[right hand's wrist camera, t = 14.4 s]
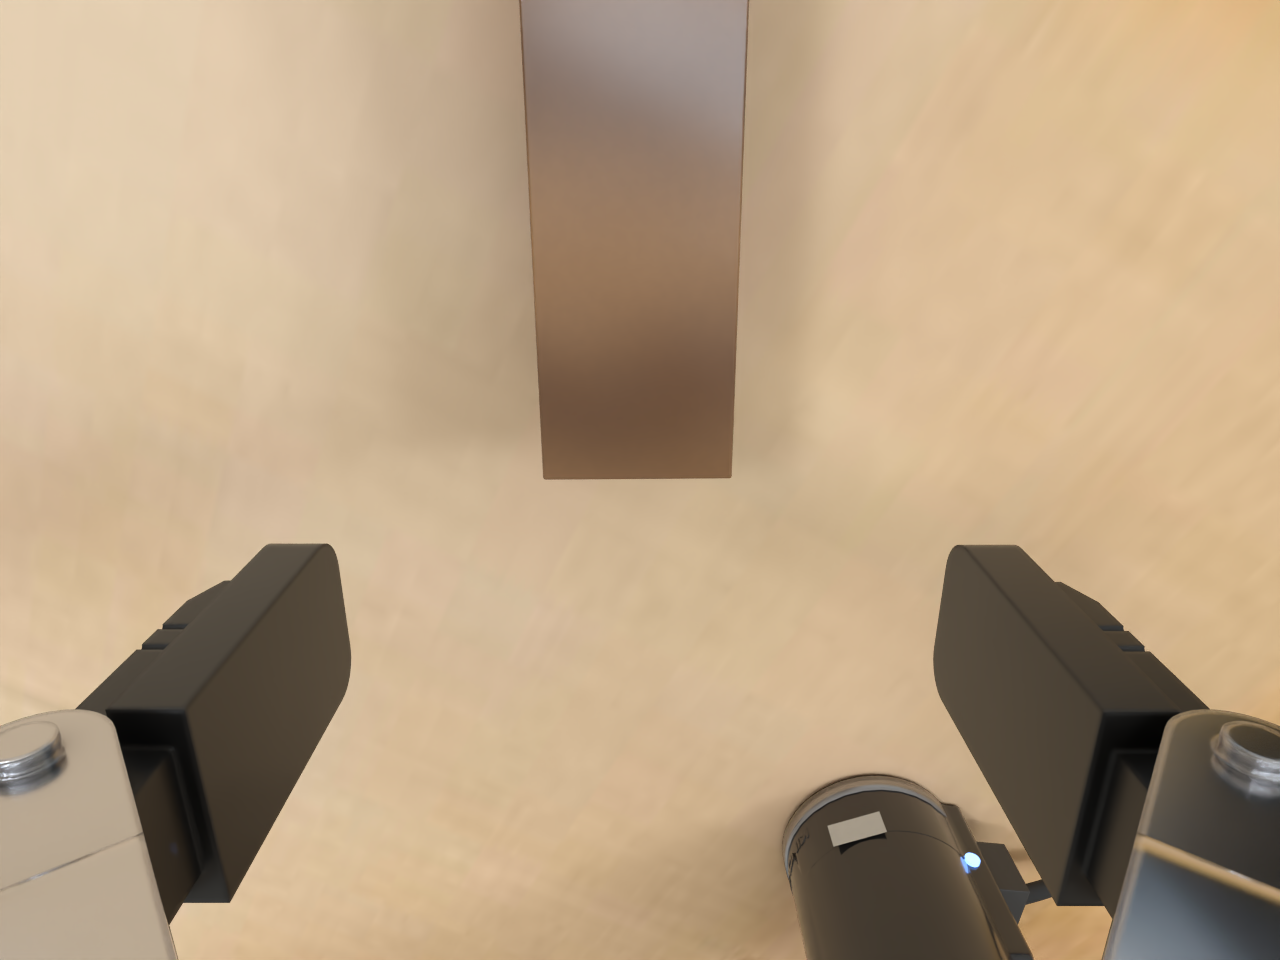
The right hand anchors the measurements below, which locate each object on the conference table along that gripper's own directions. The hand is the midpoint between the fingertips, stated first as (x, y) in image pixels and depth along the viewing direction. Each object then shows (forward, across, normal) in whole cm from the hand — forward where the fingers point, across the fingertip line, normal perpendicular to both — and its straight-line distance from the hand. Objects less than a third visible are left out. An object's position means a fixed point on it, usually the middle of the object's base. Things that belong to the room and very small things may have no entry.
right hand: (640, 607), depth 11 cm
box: (+26, 0, -7) cm, 27 cm away
